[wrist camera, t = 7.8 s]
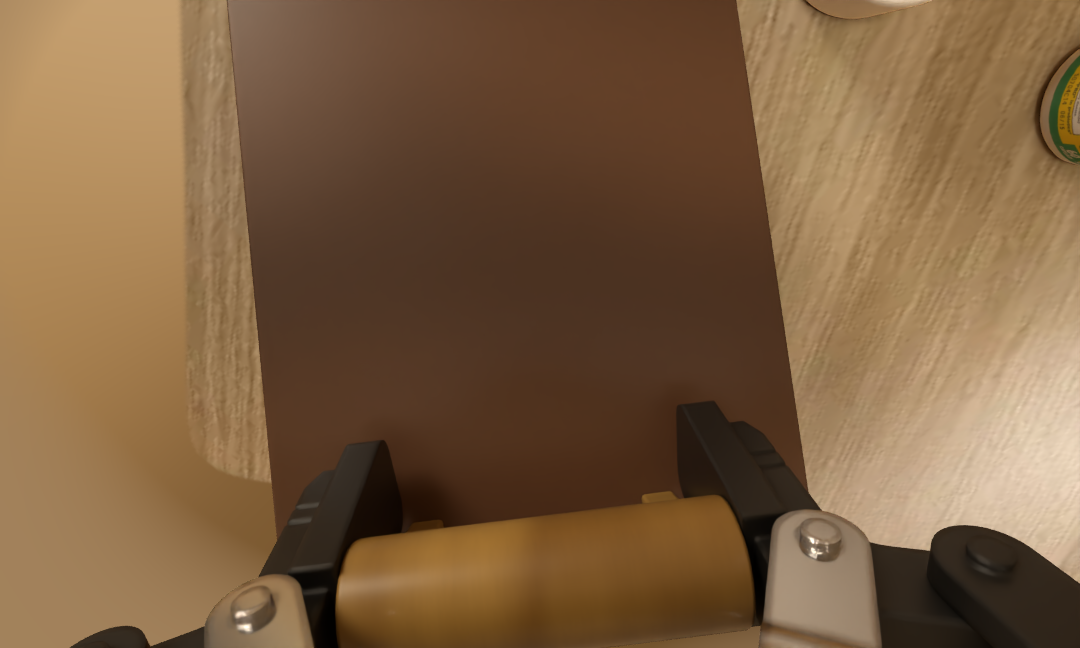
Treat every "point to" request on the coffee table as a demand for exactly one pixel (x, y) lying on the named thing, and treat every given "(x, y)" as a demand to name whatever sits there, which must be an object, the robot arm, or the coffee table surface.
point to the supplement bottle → (1063, 111)
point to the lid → (513, 303)
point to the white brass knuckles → (862, 7)
